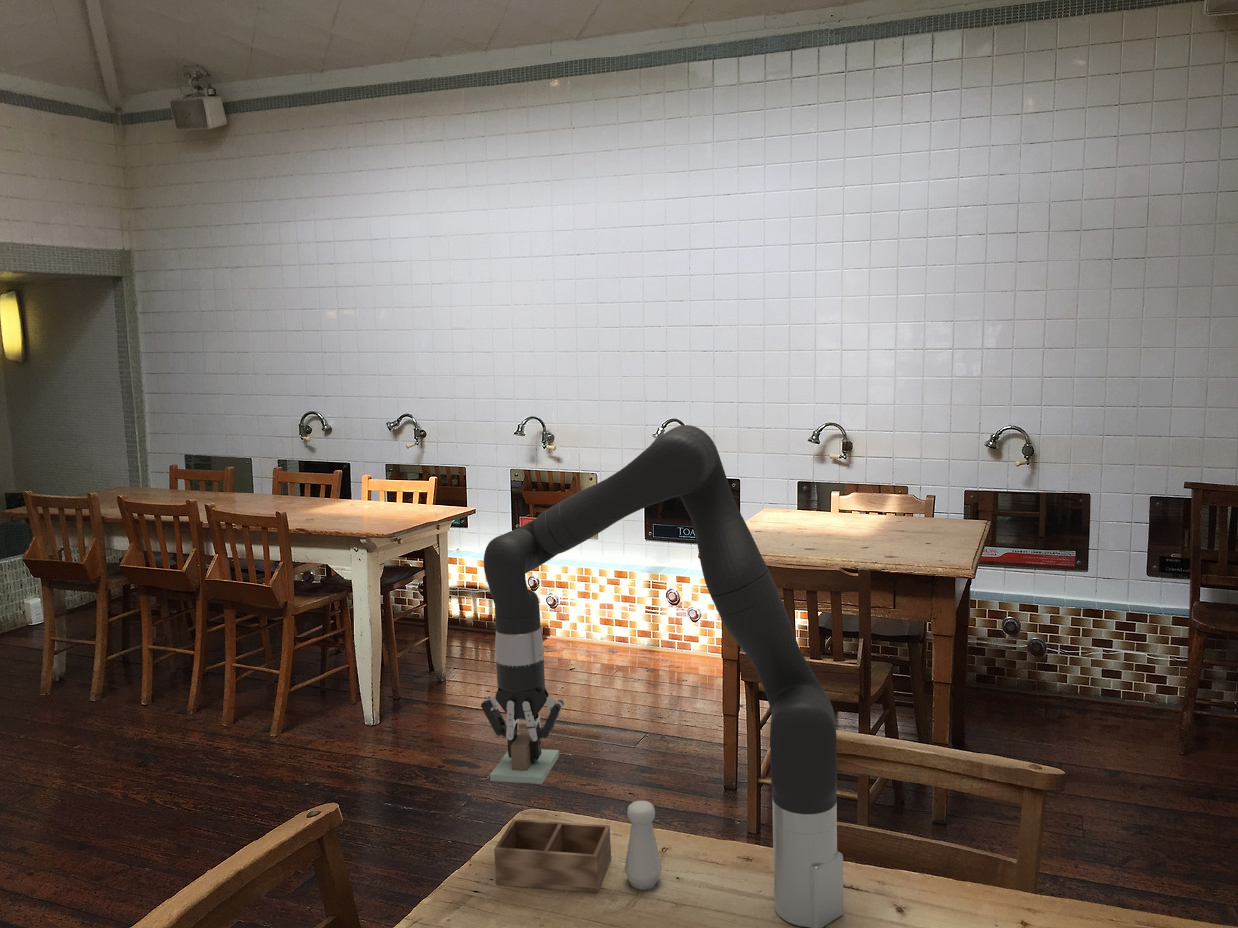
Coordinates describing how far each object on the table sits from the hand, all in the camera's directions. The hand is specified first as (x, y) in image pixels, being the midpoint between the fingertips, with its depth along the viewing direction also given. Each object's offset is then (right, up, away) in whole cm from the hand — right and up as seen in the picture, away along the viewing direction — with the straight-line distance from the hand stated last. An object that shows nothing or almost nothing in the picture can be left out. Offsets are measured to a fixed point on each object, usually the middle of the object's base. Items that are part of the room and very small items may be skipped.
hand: (525, 759), depth 150 cm
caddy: (+5, -19, +2) cm, 19 cm away
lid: (0, -1, 0) cm, 1 cm away
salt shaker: (+19, -19, -3) cm, 27 cm away
